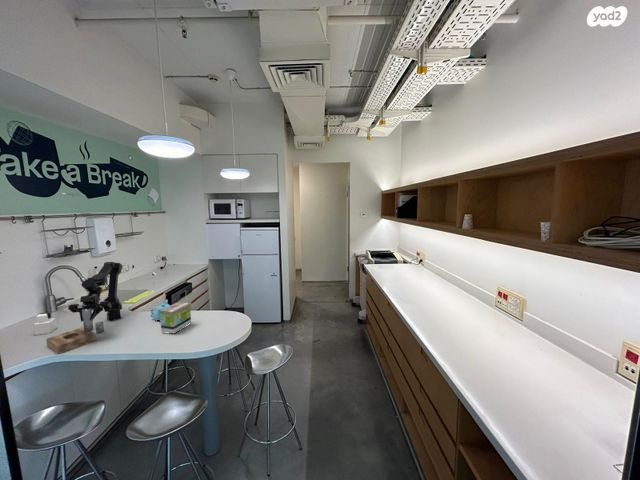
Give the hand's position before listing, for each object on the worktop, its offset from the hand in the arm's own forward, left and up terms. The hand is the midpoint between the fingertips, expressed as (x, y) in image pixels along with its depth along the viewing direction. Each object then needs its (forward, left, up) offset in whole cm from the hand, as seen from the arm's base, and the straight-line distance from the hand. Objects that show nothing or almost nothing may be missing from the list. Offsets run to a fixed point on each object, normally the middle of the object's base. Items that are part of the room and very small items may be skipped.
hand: (86, 320), depth 146 cm
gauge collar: (+5, -8, -13) cm, 17 cm away
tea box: (-35, +27, -14) cm, 46 cm away
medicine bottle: (+7, -40, -14) cm, 43 cm away
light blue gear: (-41, +5, -14) cm, 44 cm away
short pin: (-9, -10, -13) cm, 19 cm away
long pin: (-1, -1, -7) cm, 7 cm away
